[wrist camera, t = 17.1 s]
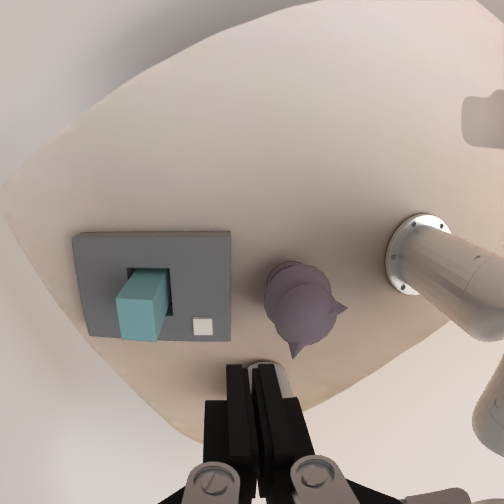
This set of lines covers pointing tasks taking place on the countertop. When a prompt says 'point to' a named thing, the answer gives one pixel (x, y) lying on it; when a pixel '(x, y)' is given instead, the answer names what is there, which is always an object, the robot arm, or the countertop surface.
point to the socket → (181, 276)
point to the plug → (143, 304)
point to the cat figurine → (300, 304)
